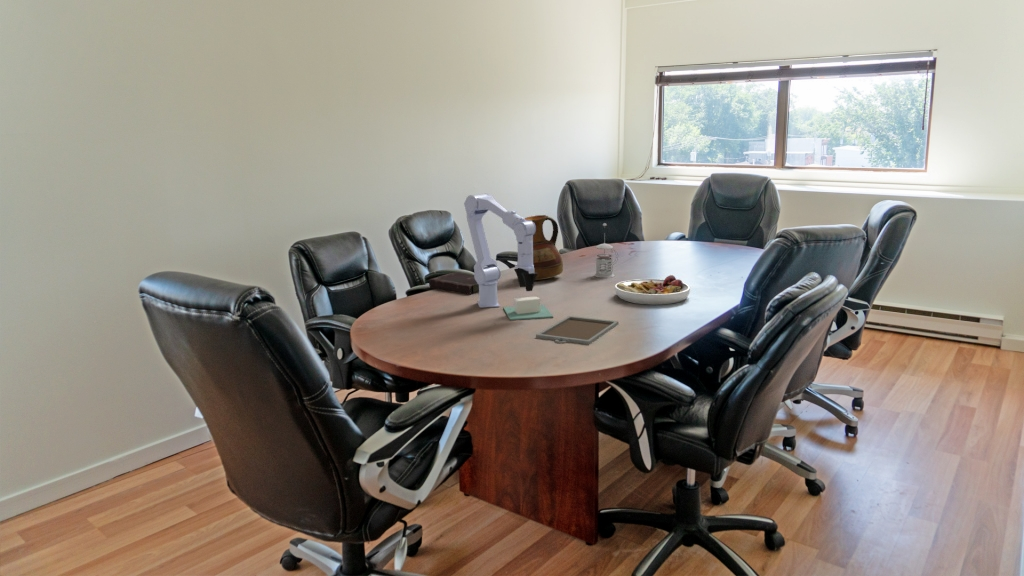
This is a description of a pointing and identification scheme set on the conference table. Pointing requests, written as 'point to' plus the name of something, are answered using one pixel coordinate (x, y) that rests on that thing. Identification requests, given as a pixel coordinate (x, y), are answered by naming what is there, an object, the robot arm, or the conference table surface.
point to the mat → (528, 314)
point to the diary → (456, 283)
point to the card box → (526, 305)
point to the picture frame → (577, 330)
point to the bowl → (653, 291)
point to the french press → (604, 261)
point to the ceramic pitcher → (545, 250)
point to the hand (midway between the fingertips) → (525, 288)
